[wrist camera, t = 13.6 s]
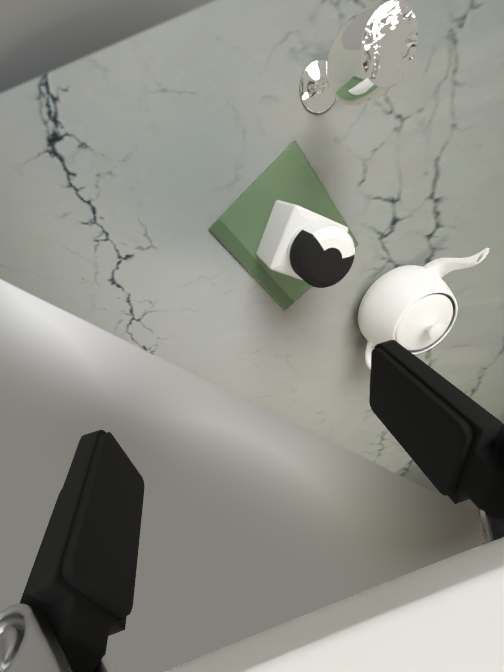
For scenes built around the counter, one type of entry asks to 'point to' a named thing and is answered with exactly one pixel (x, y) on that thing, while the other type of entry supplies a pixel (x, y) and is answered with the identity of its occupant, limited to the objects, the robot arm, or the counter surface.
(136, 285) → the counter surface
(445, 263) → the teapot
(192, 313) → the counter surface
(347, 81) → the wineglass
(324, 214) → the napkin
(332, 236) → the medicine bottle
